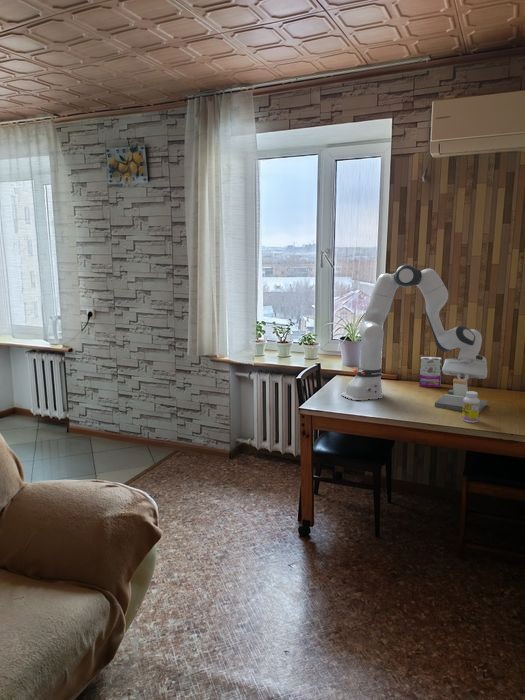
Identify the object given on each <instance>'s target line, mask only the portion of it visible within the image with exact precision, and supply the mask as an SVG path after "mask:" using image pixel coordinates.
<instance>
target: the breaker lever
mask: <svg viewBox="0 0 525 700" xmlns="http://www.w3.org/2000/svg"><path fill="white" fill-rule="evenodd" d="M452 384H453V386H452V387H453V388H452V390H454V395H456V396H463V397H466V392H467V391H469V390H468V380H465V379H464V378H460V379H458V377H457V378H456V377H454V378H453V380H452Z"/></svg>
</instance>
